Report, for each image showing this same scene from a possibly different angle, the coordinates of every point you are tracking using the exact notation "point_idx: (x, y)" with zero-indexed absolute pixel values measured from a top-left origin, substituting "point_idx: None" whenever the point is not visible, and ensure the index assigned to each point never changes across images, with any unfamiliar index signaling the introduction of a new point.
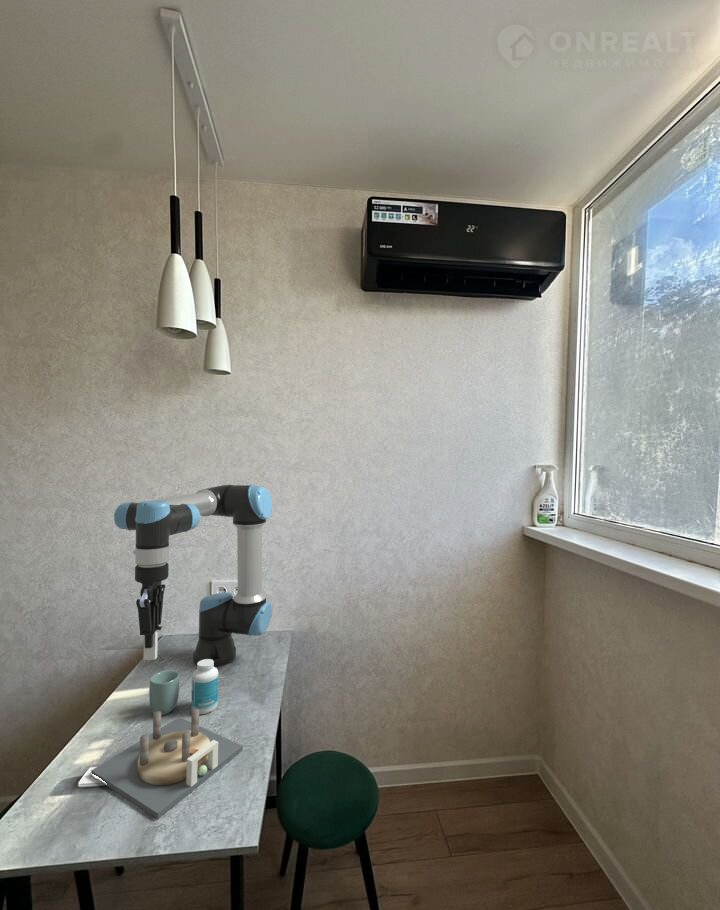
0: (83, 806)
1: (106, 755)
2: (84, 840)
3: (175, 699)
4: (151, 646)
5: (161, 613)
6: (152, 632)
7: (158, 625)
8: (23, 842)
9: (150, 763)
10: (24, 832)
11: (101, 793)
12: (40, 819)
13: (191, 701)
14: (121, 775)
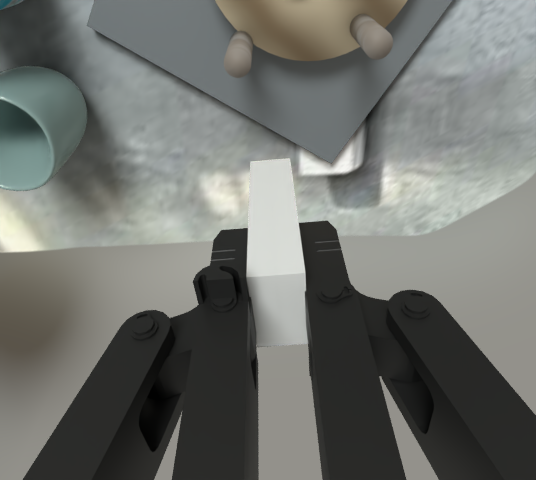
0: (425, 122)
1: (261, 160)
2: (530, 65)
3: (33, 70)
4: (322, 226)
5: (83, 407)
6: (359, 299)
7: (202, 313)
8: (494, 180)
9: (367, 3)
10: (468, 192)
11: (391, 104)
12: (442, 184)
13: (9, 6)
14: (358, 81)
